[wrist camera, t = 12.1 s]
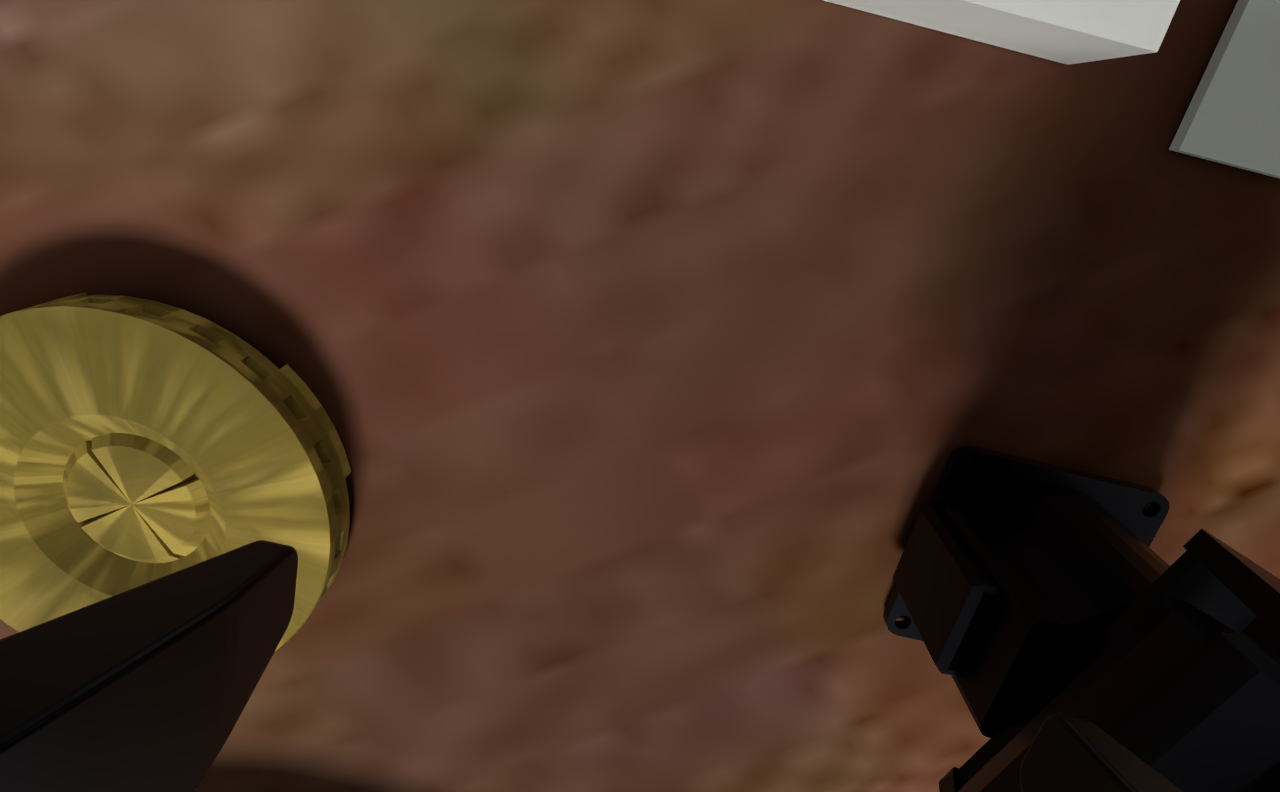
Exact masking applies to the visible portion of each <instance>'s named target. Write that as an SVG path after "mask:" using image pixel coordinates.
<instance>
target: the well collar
mask: <svg viewBox="0 0 1280 792" xmlns="http://www.w3.org/2000/svg"><path fill="white" fill-rule="evenodd" d="M824 1H827V2H831V3H835V4H839V5H843V6H846V7H850V8H854V9H858V10H862V11H865V12H869V13H873V14H877V15H881V16H884V17H888V18H892V19H896V20H900V21H903V22H907V23H911V24H915V25H919V26H922V27H926V28H930V29H934V30H938V31H941V32H945V33H949V34H953V35H957V36H960V37H964V38H968V39H972V40H975V41H979V42H983V43H987V44H991V45H994V46H998V47H1002V48H1006V49H1010V50H1013V51H1017V52H1021V53H1025V54H1029V55H1032V56H1036V57H1040V58H1044V59H1048V60H1051V61H1055V62H1059V63H1063V64H1067V65H1071V64H1078V63H1085V62H1092V61H1099V60H1106V59H1113V58H1120V57H1127V56H1134V55H1141V54H1148V53H1155V52H1158V50H1159V48H1160V45H1161V43H1162V41H1163V39H1164V36H1165V34H1166V32H1167V29H1168V27H1169V25H1170V23H1171V20H1172V18H1173V16H1174V13H1175V11H1176V9H1177V7H1178V4H1179V2H1180V0H824Z"/></svg>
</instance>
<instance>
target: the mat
mask: <svg viewBox="0 0 1280 792" xmlns="http://www.w3.org/2000/svg"><path fill="white" fill-rule="evenodd" d="M1169 150H1171V151H1175V152H1179V153H1183V154H1186V155H1190V156H1194V157H1198V158H1202V159H1206V160H1210V161H1213V162H1217V163H1221V164H1225V165H1229V166H1233V167H1237V168H1240V169H1244V170H1248V171H1252V172H1256V173H1260V174H1264V175H1267V176H1271V177H1275V178H1279V179H1280V0H1238V1H1237V3H1236V5H1235V8H1234V10H1233V12H1232V14H1231V16H1230V18H1229V21H1228V23H1227V25H1226V27H1225V29H1224V31H1223V33H1222V36H1221V38H1220V40H1219V42H1218V44H1217V46H1216V49H1215V51H1214V53H1213V55H1212V57H1211V59H1210V62H1209V64H1208V66H1207V68H1206V70H1205V72H1204V74H1203V77H1202V79H1201V81H1200V83H1199V85H1198V87H1197V90H1196V92H1195V94H1194V96H1193V98H1192V100H1191V103H1190V105H1189V107H1188V109H1187V111H1186V113H1185V115H1184V118H1183V120H1182V122H1181V124H1180V126H1179V128H1178V131H1177V133H1176V135H1175V137H1174V139H1173V141H1172V144H1171V146H1170V148H1169Z"/></svg>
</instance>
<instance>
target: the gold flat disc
mask: <svg viewBox="0 0 1280 792" xmlns="http://www.w3.org/2000/svg"><path fill="white" fill-rule="evenodd" d="M350 473H351V469H350V465H349V462H348V459H347V455H346V452H345V449H344V447H343V444H342V442H341V440H340V438H339V435H338V433H337V431H336V429H335V427H334V425H333V423H332V421H331V420H330V418H329V416H328V415H327V413H326V411H325V410H324V408H323V406H322V405H321V403H320V402H319V401H318V399H317V398H316V397H315V395H314V394H313V393H312V391H311V390H310V389H309V387H308V386H307V385H306V384H305V382H304V381H303V380H302V379H301V378H300V377H299V376H298V375H297V374H296V373H295V372H294V371H293V370H292V369H291V368H290V366H289V365H288V364H286V365H285V366H283V367H282V368H280V369H279V368H278V367H277V366H276V365H274V364H273V363H272V362H271V361H270V360H269V359H267V358H266V357H265V356H264V355H263V354H262V353H260V352H259V351H258V350H257V349H255V348H254V347H252V346H251V345H249V344H248V343H246V342H245V341H244V340H242V339H241V338H239V337H238V336H236V335H235V334H233V333H231V332H230V331H228V330H226V329H224V328H222V327H221V326H219V325H217V324H215V323H213V322H211V321H210V320H207V319H205V318H203V317H200V316H198V315H196V314H193V313H191V312H188V311H186V310H184V309H181V308H178V307H174V306H171V305H167V304H164V303H161V302H157V301H153V300H148V299H142V298H136V297H131V296H121V295H103V294H98V295H87V294H86V293H82V294H77V295H72V296H68V297H63V298H59V299H56V300H52V301H49V302H46V303H42V304H39V305H35V306H32V307H28V308H25V309H22V310H18V311H15V312H11V313H8V314H5V315H2V316H0V619H1V620H3V621H4V622H5V623H6V624H8V625H9V626H11V627H12V628H14V629H15V630H17V631H18V632H21V631H24V630H26V629H29V628H31V627H34V626H37V625H39V624H42V623H44V622H47V621H50V620H52V619H55V618H57V617H60V616H63V615H65V614H68V613H70V612H73V611H75V610H78V609H81V608H83V607H86V606H88V605H91V604H94V603H96V602H99V601H101V600H104V599H107V598H109V597H112V596H114V595H117V594H120V593H122V592H125V591H127V590H130V589H133V588H135V587H138V586H140V585H143V584H146V583H148V582H151V581H153V580H156V579H159V578H161V577H164V576H166V575H169V574H172V573H174V572H177V571H179V570H182V569H184V568H187V567H190V566H192V565H195V564H197V563H200V562H203V561H205V560H208V559H210V558H213V557H216V556H218V555H221V554H223V553H226V552H229V551H231V550H234V549H236V548H239V547H242V546H244V545H247V544H249V543H252V542H255V541H258V540H265V541H270V542H275V543H279V544H284V545H288V546H292V547H294V549H295V550H296V551H297V555H298V568H297V579H296V591H295V602H294V610H293V614H292V617H291V620H290V623H289V625H288V628H287V630H286V632H285V633H284V635H283V637H282V639H281V641H280V643H279V644H278V646H277V648H276V650H277V649H278V648H280V647H281V646H282V645H283V644H285V643H286V642H287V641H288V640H289V639H290V638H291V637H292V636H293V635H294V634H295V633H296V632H297V631H298V630H299V629H300V627H301V626H302V625H303V624H304V623H305V621H306V620H307V618H308V617H309V616H310V614H311V613H312V611H313V610H314V609H315V607H316V606H317V604H318V603H319V602H320V600H321V599H322V598H323V596H324V595H325V593H326V592H327V590H328V589H329V587H330V585H331V584H332V582H333V581H334V579H335V577H336V575H337V572H338V570H339V568H340V566H341V564H342V560H343V557H344V553H345V550H346V546H347V541H348V533H349V524H350V514H349V497H348V491H347V485H346V479H345V478H346V477H347V476H348V475H349V474H350ZM276 650H275V651H276Z"/></svg>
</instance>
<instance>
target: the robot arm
mask: <svg viewBox="0 0 1280 792" xmlns="http://www.w3.org/2000/svg"><path fill="white" fill-rule="evenodd" d="M970 459H974V464H973V465H972V467H970V468H968V469H962V465H963V464H964V462H965V461H967V460H970ZM1149 502H1152V504H1151V506H1150V507H1149V508H1147V509H1145V510H1142V509H1143V507H1144V506H1145V505H1146V504H1147V503H1149ZM1168 510H1169V502H1168V500H1167V499H1166V498H1165V497H1164V496H1163V495H1162V494H1160V493H1159V492H1158V491H1156V490H1154V489H1152V488H1149V487H1144V486H1140V485H1136V484H1131V483H1127V482H1123V481H1119V480H1114V479H1110V478H1106V477H1102V476H1097V475H1093V474H1089V473H1084V472H1080V471H1076V470H1072V469H1067V468H1063V467H1059V466H1055V465H1050V464H1046V463H1042V462H1037V461H1033V460H1029V459H1025V458H1020V457H1016V456H1012V455H1008V454H1003V453H999V452H995V451H991V450H986V449H982V448H978V447H973V446H963V447H960V448H958V449H956V450H955V451H954V452H953V453H952V454H951V456H950V457H949V459H948V461H947V464H946V466H945V469H944V471H943V473H942V476H941V478H940V480H939V483H938V485H937V487H936V490H935V492H934V495H933V497H932V499H931V502H930V504H929V506H928V507H926V508H925V509H924V510H922V511H921V512H920V514H919V516H918V519H917V521H916V523H915V526H914V528H913V531H912V533H911V535H910V538H909V540H908V542H907V545H906V547H905V550H904V552H903V554H902V557H901V559H900V561H899V564H898V566H897V569H896V571H895V573H894V576H893V581H894V583H895V587H894V589H893V591H892V594H891V596H890V599H889V601H888V603H887V606H886V608H885V610H884V615H883V617H884V620H885V623H886V625H887V627H888V629H889V630H890V631H891V632H892V633H893V634H896V635H899V636H903V637H908V638H912V639H917V640H921V641H924V643H925V645H926V647H927V649H928V651H929V653H930V655H931V657H932V659H933V661H934V663H935V665H936V666H937V668H938V670H939V671H940V672H941V673H942V674H947V675H951V676H952V677H953V679H954V681H955V683H956V685H957V687H958V689H959V691H960V693H961V695H962V697H963V698H964V700H965V702H966V704H967V706H968V708H969V710H970V712H971V714H972V716H973V718H974V720H975V722H976V724H977V725H978V727H979V729H980V731H981V733H982V735H984V736H986V737H989V738H991V739H990V740H989V741H988V742H987V743H986V744H985V745H984V746H982V747H981V748H980V749H979V750H978V751H977V752H976V753H975V754H974V755H973V756H972V757H971V758H970V759H969V760H968V761H967V762H966V763H965V764H964V765H963V766H962V767H961V768H960V769H958V768H956V767H954V768H952V769H951V770H950V771H949V772H948V773H947V774H946V775H945V776H944V777H943V778H942V779H941V780H940V781H939V791H940V792H1280V579H1278V578H1277V577H1275V576H1274V575H1272V574H1271V573H1269V572H1268V571H1266V570H1265V569H1263V568H1261V567H1260V566H1258V565H1257V564H1255V563H1254V562H1252V561H1251V560H1249V559H1248V558H1246V557H1245V556H1243V555H1242V554H1240V553H1239V552H1237V551H1235V550H1234V549H1232V548H1231V547H1229V546H1228V545H1226V544H1225V543H1223V542H1222V541H1220V540H1219V539H1217V538H1216V537H1214V536H1213V535H1211V534H1210V533H1208V532H1206V531H1205V530H1203V529H1201V530H1200V531H1198V532H1197V533H1196V534H1195V535H1194V536H1193V537H1192V538H1191V539H1190V540H1189V541H1188V542H1187V543H1186V544H1185V545H1184V546H1183V547H1184V548H1185V549H1186V550H1187V551H1186V552H1185V553H1184V554H1183V555H1182V556H1181V557H1180V558H1179V559H1178V560H1176V561H1175V562H1174V563H1173V564H1172V565H1171V566H1169V565H1168V564H1167V563H1166V562H1165V561H1164V560H1163V559H1161V558H1160V557H1159V556H1158V555H1157V554H1156V553H1155V552H1154V551H1152V550H1151V549H1150V548H1149V546H1150V544H1151V542H1152V540H1153V538H1154V537H1155V535H1156V533H1157V531H1158V529H1159V528H1160V526H1161V524H1162V522H1163V520H1164V519H1165V517H1166V515H1167V513H1168ZM297 568H298V555H297V551H296V550H295V549H294V547H292V546H288V545H284V544H279V543H275V542H270V541H265V540H258V541H255V542H252V543H249V544H247V545H244V546H242V547H239V548H236V549H234V550H231V551H229V552H226V553H223V554H221V555H218V556H216V557H213V558H210V559H208V560H205V561H203V562H200V563H197V564H195V565H192V566H190V567H187V568H184V569H182V570H179V571H177V572H174V573H172V574H169V575H166V576H164V577H161V578H159V579H156V580H153V581H151V582H148V583H146V584H143V585H140V586H138V587H135V588H133V589H130V590H127V591H125V592H122V593H120V594H117V595H114V596H112V597H109V598H107V599H104V600H101V601H99V602H96V603H94V604H91V605H88V606H86V607H83V608H81V609H78V610H75V611H73V612H70V613H68V614H65V615H63V616H60V617H57V618H55V619H52V620H50V621H47V622H44V623H42V624H39V625H37V626H34V627H31V628H29V629H26V630H24V631H21V632H18V633H16V634H13V635H11V636H8V637H5V638H3V639H0V792H193V791H194V790H195V788H196V787H197V785H198V784H199V782H200V781H201V779H202V778H203V776H204V775H205V774H206V772H207V771H208V769H209V768H210V766H211V764H212V763H213V761H214V760H215V758H216V757H217V755H218V754H219V752H220V751H221V749H222V747H223V745H224V744H225V742H226V740H227V738H228V737H229V735H230V733H231V731H232V730H233V728H234V726H235V724H236V722H237V720H238V718H239V717H240V715H241V713H242V711H243V709H244V707H245V705H246V704H247V702H248V700H249V698H250V696H251V694H252V693H253V691H254V689H255V687H256V685H257V683H258V681H259V680H260V678H261V676H262V674H263V672H264V670H265V669H266V667H267V665H268V663H269V661H270V659H271V657H272V656H273V654H274V652H275V650H276V648H277V646H278V644H279V643H280V641H281V639H282V637H283V635H284V633H285V632H286V630H287V628H288V625H289V623H290V620H291V617H292V614H293V610H294V602H295V591H296V579H297ZM900 616H907V617H906V618H905V619H904V620H902V621H895V620H896V619H897V618H898V617H900Z"/></svg>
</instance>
